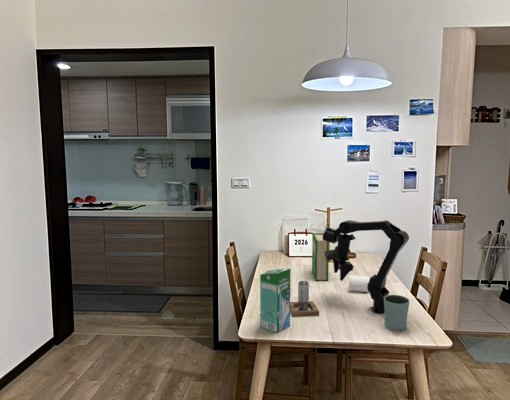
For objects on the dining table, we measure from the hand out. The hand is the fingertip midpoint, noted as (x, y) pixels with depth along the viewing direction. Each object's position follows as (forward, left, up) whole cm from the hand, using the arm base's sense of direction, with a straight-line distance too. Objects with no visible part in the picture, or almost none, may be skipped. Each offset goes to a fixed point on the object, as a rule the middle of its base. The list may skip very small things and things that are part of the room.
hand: (338, 276), depth 195 cm
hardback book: (+38, 0, -12) cm, 40 cm away
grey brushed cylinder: (-11, +19, -12) cm, 25 cm away
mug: (+14, -16, -12) cm, 24 cm away
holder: (-11, +20, -12) cm, 25 cm away
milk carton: (-26, +35, -12) cm, 45 cm away
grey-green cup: (-31, -15, -12) cm, 37 cm away
